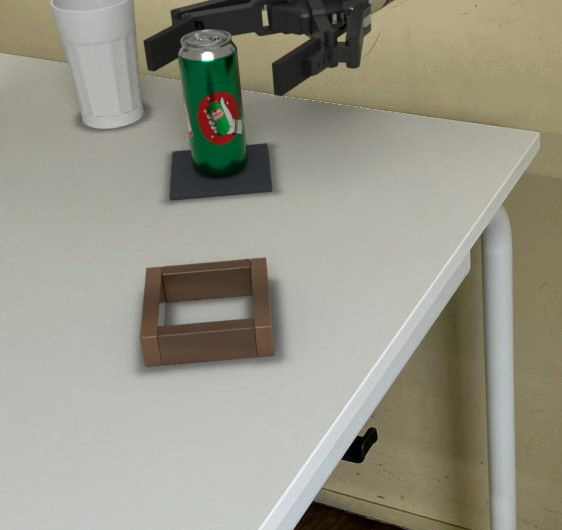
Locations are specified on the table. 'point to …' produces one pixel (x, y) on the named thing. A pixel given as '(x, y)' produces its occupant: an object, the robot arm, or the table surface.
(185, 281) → the collar stand
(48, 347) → the table surface
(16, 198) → the table surface
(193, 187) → the mat
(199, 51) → the soda can
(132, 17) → the cup
